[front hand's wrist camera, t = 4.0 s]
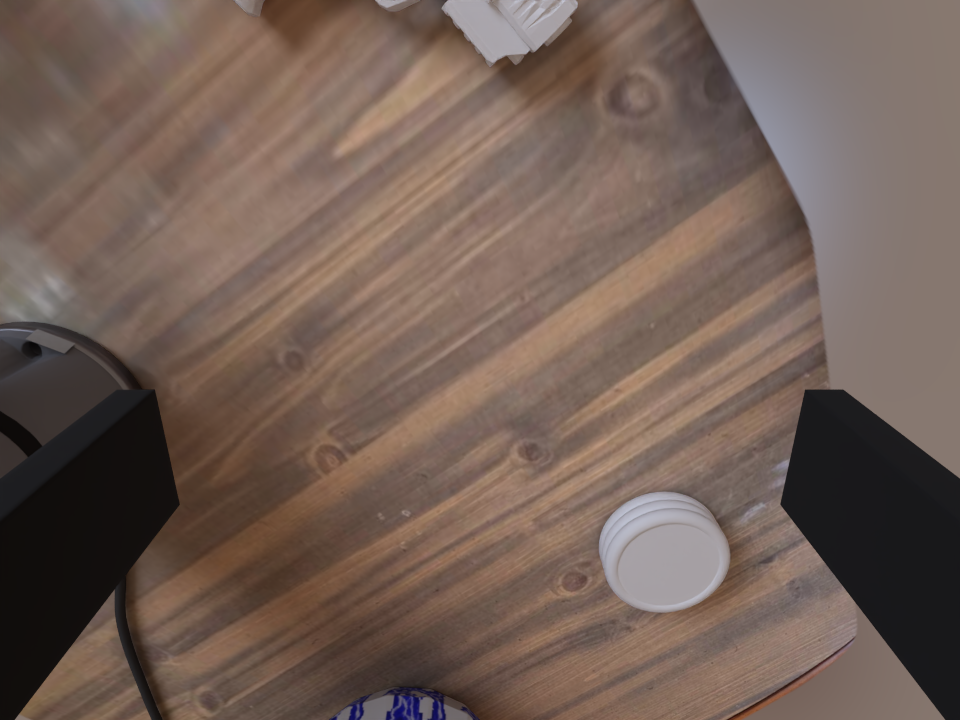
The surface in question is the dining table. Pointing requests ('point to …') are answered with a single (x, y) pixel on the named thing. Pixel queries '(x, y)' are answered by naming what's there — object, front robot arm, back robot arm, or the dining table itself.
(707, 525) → the coaster
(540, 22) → the pistol
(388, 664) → the dining table surface
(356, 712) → the ornament
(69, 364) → the front robot arm
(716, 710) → the dining table surface
